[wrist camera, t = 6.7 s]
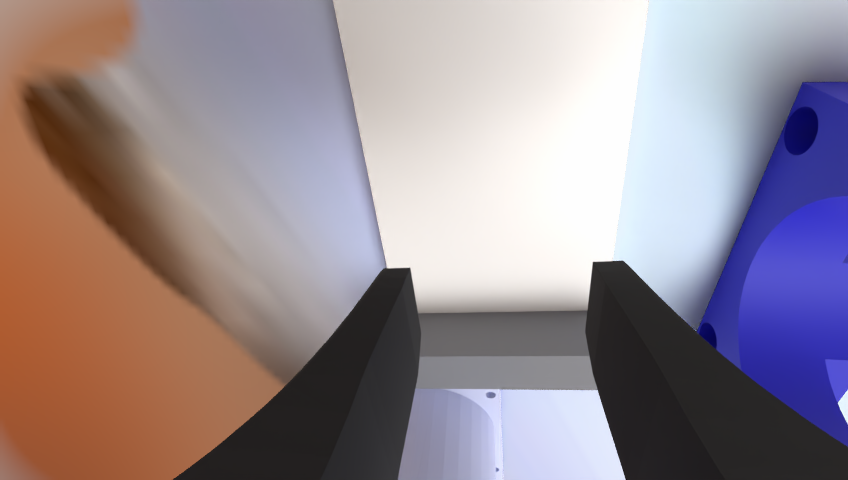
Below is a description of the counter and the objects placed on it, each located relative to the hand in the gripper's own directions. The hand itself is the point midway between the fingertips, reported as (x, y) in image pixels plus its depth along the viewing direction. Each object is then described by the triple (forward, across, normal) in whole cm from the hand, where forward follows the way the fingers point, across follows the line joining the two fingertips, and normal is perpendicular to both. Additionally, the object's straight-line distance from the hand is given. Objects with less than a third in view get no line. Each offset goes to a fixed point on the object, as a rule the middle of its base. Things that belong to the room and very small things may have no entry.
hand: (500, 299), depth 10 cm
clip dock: (+8, 0, 0) cm, 8 cm away
